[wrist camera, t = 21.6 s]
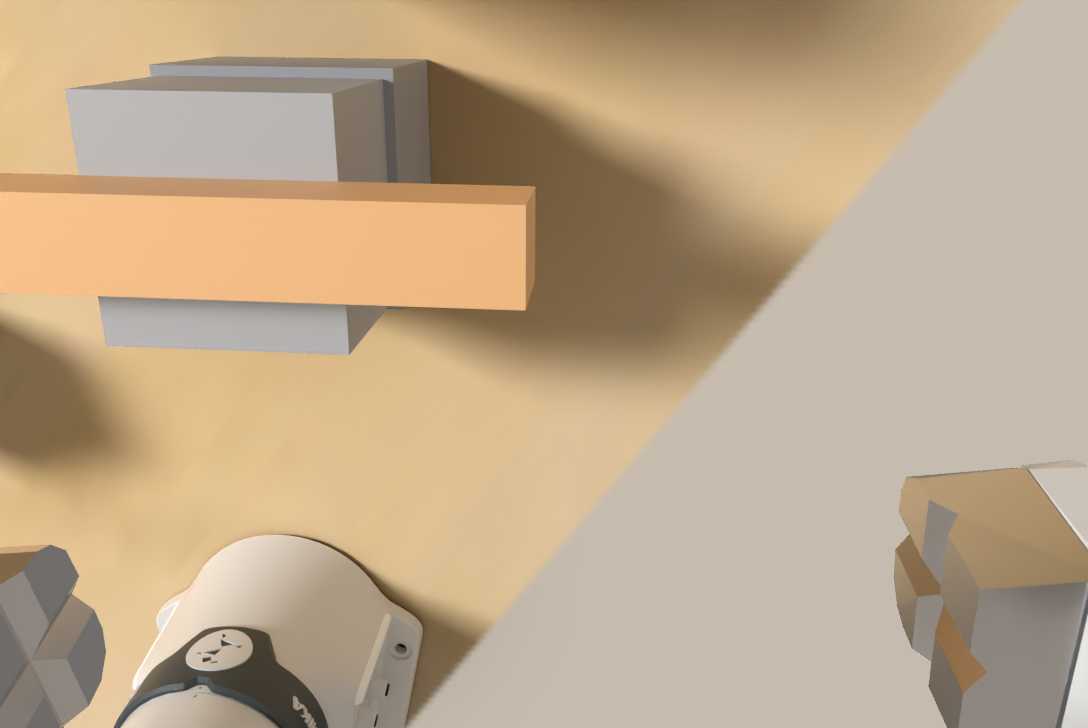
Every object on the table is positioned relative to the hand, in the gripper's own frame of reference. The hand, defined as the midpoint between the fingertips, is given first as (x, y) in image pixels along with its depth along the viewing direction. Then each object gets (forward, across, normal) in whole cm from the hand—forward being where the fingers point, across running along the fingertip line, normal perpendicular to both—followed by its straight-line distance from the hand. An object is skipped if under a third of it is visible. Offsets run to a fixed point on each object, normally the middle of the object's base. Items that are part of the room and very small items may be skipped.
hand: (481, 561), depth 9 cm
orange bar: (+30, -13, -7) cm, 34 cm away
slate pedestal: (+47, -14, -10) cm, 50 cm away
